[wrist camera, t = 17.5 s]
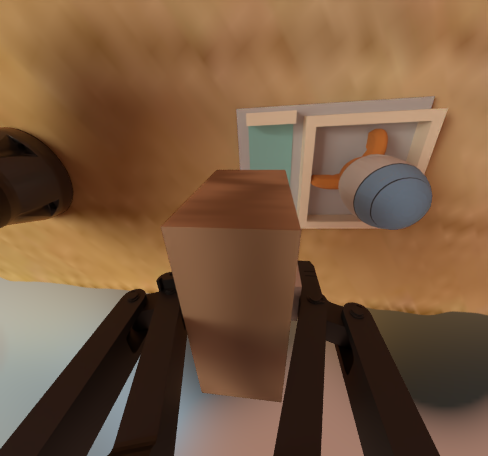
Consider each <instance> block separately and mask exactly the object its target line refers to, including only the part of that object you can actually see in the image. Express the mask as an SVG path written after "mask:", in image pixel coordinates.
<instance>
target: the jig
mask: <svg viewBox="0 0 488 456" xmlns="http://www.w3.org/2000/svg"><path fill="white" fill-rule="evenodd" d="M434 98H435V96H430V97H415V98H399V99H384V100H368V101H352V102H337V103H321V104H306V105H290V106H274V107H259V108H243V109H236V111H237V127H238V143H239V160H240V170H285V171H286V174H287V178H288V182H289V186H290V190H291V193H292V197H293V201H294V205H295V209H296V212H297V216H298V220H299V224H300V227H301V229H381V228H377V227H373V226H370V225H368V224H366V223H364V222H362V221H361V220H359V219H358V218H357V217H355V216H354V215H353V214H352V213H351V212H350V211H349V210H348V208H347V207H346V206H345V204H344V203H343V201H342V199H341V197H340V194H339V189H322V188H318V187H316V186H313V185H312V184H311V176H312V175H335V174H339V173H340V171H341V169H342V168H343V166H344V165H345V164H346V163H348V162H349V161H350V160H352V159H355V158H358V157H362V155H363V154H364V153H365V152H366V150H367V148H366V144H367V139H368V133H369V132H370V131H372V130H374V129H379V128H381V129H383V130H385V131H386V132H387V135H388V144H387V149H386V152H385V155H389V156H392V157H395V158H398V159H401V160H404V161H406V162H408V163H410V164H412V165H414V166H415V167H417V168H418V169H419V170H420V171H421V172H422V173H423V174H425V171H426V168H427V166H428V163H429V160H430V157H431V155H432V152H433V149H434V146H435V143H436V141H437V138H438V135H439V132H440V130H441V127H442V124H443V121H444V118H445V116H446V113H447V110H448V108H436V109H431V107H432V104H433V101H434ZM402 229H405V228H402Z"/></svg>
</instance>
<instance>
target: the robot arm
mask: <svg viewBox="0 0 488 456" xmlns="http://www.w3.org/2000/svg"><path fill="white" fill-rule="evenodd" d="M72 196H73V191H72V185H71V181H70V178H69V176H68V174H67V172H66V170H65V168H64V166H63V165H62V163H61V162H60V160H59V159H58V158H57V157H56V156H55V154H54V153H53V152H52V151H51V150H50V149H49V148H48V147H47V146H45V145H44V144H43V143H42V142H40V141H39V140H38V139H36V138H35V137H33V136H31V135H29V134H27V133H25V132H23V131H20V130H17V129H13V128H6V127H2V128H0V228H1V227H4V226H6V225H11V224H18V223H25V222H32V221H39V220H45V219H49V218H52V217H54V216H56V215H58V214H60V213H62V212H64V211H65V210H67V209H68V207H69V206H70V204H71V201H72ZM157 285H158V288H159V292H156V293H151V294H146V293H145V291H144V290H142V289H135V290H132V291H129V292H128V293H126V294H125V295H124V296H123V297H122V298H121V299H120V301H119V302H118V303H117V304H116V306H115V307H114V308H113V309H112V311H111V312H110V313H109V314H108V316H107V317H106V318H105V319H104V321H103V322H102V323H101V324H100V326H99V327H98V328H97V329H96V331H95V332H94V333H93V334H92V336H91V337H90V338H89V339H88V341H87V342H86V343H85V344H84V345H83V347H82V348H81V349H80V350H79V352H78V353H77V354H76V355H75V357H74V358H73V359H72V360H71V362H70V363H69V364H68V365H67V367H66V368H65V369H64V370H63V372H62V373H61V374H60V375H59V377H58V378H57V379H56V380H55V382H54V383H53V384H52V386H51V387H50V388H49V389H48V390H47V392H46V393H45V394H44V395H43V397H42V398H41V399H40V400H39V402H38V403H37V404H36V405H35V407H34V408H33V409H32V410H31V412H30V413H29V414H28V415H27V417H26V418H25V419H24V420H23V421H22V423H21V424H20V425H19V427H18V428H17V429H16V430H15V432H14V433H13V434H12V435H11V436H10V438H9V439H8V440H7V441H6V443H5V444H4V445H3V446H2V448H1V449H0V456H87V454H88V452H89V450H90V448H91V447H92V445H93V443H94V441H95V439H96V437H97V435H98V433H99V432H100V430H101V428H102V426H103V424H104V422H105V420H106V418H107V416H108V415H109V413H110V411H111V409H112V407H113V405H114V403H115V402H116V400H117V398H118V396H119V394H120V392H121V390H122V388H123V386H124V385H125V383H126V381H127V379H128V377H129V375H130V373H131V371H132V370H133V368H134V366H135V364H136V362H137V360H138V358H139V357H140V359H139V363H138V366H137V369H136V373H135V376H134V379H133V383H132V386H131V390H130V393H129V396H128V400H127V403H126V406H125V410H124V413H123V417H122V420H121V423H120V427H119V430H118V434H117V437H116V440H115V444H114V446H113V449H112V451H111V452H110V454H109V455H108V456H174V450H175V441H176V431H177V423H178V414H179V404H180V396H181V386H182V377H183V368H184V359H185V350H186V341H187V330H186V326H185V322H184V318H183V314H182V310H181V306H180V302H179V298H178V294H177V290H176V286H175V282H174V278H173V274H172V272H169V273H165V274H163V275H161V276H160V277H159V278H158V279H157ZM297 318H298V323H297V328H296V334H295V339H294V345H293V351H292V356H291V361H290V367H289V372H288V378H287V384H286V389H285V395H284V400H283V406H282V411H281V417H280V422H279V428H278V433H277V439H276V444H275V450H274V455H273V456H321V438H322V437H321V436H322V414H323V390H324V367H325V342H326V341H329V342H331V343H334V344H335V348H336V351H337V355H338V359H339V363H340V366H341V370H342V374H343V378H344V382H345V386H346V389H347V393H348V397H349V401H350V404H351V408H352V412H353V415H354V419H355V423H356V427H357V431H358V435H359V439H360V442H361V446H362V450H363V454H364V456H440V455H439V453H438V451H437V449H436V447H435V444H434V443H433V440H432V439H431V436H430V434H429V432H428V430H427V428H426V426H425V424H424V422H423V420H422V418H421V416H420V414H419V412H418V410H417V408H416V405H415V403H414V402H413V399H412V397H411V395H410V393H409V391H408V389H407V387H406V385H405V383H404V381H403V379H402V377H401V375H400V373H399V371H398V369H397V367H396V364H395V362H394V360H393V359H392V356H391V355H390V352H389V350H388V348H387V346H386V344H385V342H384V340H383V338H382V336H381V334H380V332H379V330H378V327H377V326H376V323H375V321H374V319H373V317H372V315H371V313H370V312H369V311H368V309H366V308H365V307H364V306H362V305H360V304H358V303H353V302H352V303H347V304H345V305H344V307H342V306H339V305H336V304H333V303H331V302H329V301H328V300H327V299H326V298H325V296H324V295H322V293H321V289H320V286H319V282H318V279H317V275H316V273H315V268H314V266H313V265H312V264H311V262H310V261H298V263H297V272H296V280H295V289H294V298H293V306H292V315H291V321H297ZM140 355H141V356H140Z"/></svg>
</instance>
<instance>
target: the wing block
mask: <svg viewBox="0 0 488 456" xmlns="http://www.w3.org/2000/svg"><path fill="white" fill-rule="evenodd" d="M161 229H162V233H163V238H164V242H165V246H166V250H167V254H168V258H169V262H170V266H171V270H172V274H173V278H174V282H175V286H176V290H177V294H178V298H179V302H180V306H181V310H182V314H183V318H184V322H185V326H186V330H187V334H188V338H189V342H190V346H191V350H192V355H193V358H194V362H195V366H196V371H197V374H198V379H199V383H200V387H201V391H202V393H210V394H218V395H226V396H234V397H242V398H250V399H259V400H267V401H275V402H281V401H282V392H283V384H284V375H285V366H286V358H287V349H288V341H289V332H290V323H291V315H292V306H293V298H294V289H295V280H296V272H297V263H298V255H299V246H300V238H301V227H300V224H299V220H298V216H297V212H296V209H295V205H294V201H293V197H292V193H291V190H290V186H289V182H288V178H287V174H286V171H285V170H216V171H215V172H214V173H213V174H212V175H211V176H210V177H209V178H208V179H207V180H206V181H205V182H204V183H203V184H202V185H201V186H200V187H199V188H198V189H197V190H196V191H195V193H194V194H193V195H192V196H191V197H190V198H189V199H188V200H187V201H186V202H185V203H184V204H183V205H182V206H181V207H180V208H179V209H178V210H177V211H176V212H175V213H174V214H173V215H172V216H171V217H170V218H169V219H168V220H167V221H166V222H165V223H164V224H163V225H162V226H161Z"/></svg>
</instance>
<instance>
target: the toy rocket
mask: <svg viewBox="0 0 488 456" xmlns="http://www.w3.org/2000/svg"><path fill="white" fill-rule="evenodd" d="M387 144H388V135H387V132H386V131H385V130H383V129H381V128H379V129H374V130H372V131H370V132H369V133H368V139H367V144H366V148H367V150H366V152H365V153H364V154H363V155H362V157H358V158H355V159H352V160H350V161H349V162H348V163H346V164H345V165H344V166H343V168H342V169H341V171H340V173H339V174H335V175H312V176H311V184H312V185H313V186H316V187H318V188H322V189H339V194H340V197H341V199H342V201H343V203H344V204H345V206H346V207H347V208H348V210H349V211H350V212H351V213H352V214H353V215H354V216H355V217H357V218H358V219H359V220H361V221H362V222H364V223H366V224H368V225H370V226H373V227H377V228H381V229H390V230H396V229H402V228H405V227H408V226H410V225H412V224H414V223H416V222H417V221H419V220H420V219H421V218H422V217H423V216H424V215H425V214H426V213H427V211H428V210H429V208H430V206H431V202H432V191H431V186H430V184H429V182H428V180H427V178H426V176H425V175H424V174H423V173H422V172H421V171H420V170H419V169H418V168H417V167H415V166H414V165H412V164H410V163H408V162H406V161H404V160H401V159H398V158H395V157H392V156H389V155H385V152H386V149H387Z"/></svg>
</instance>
